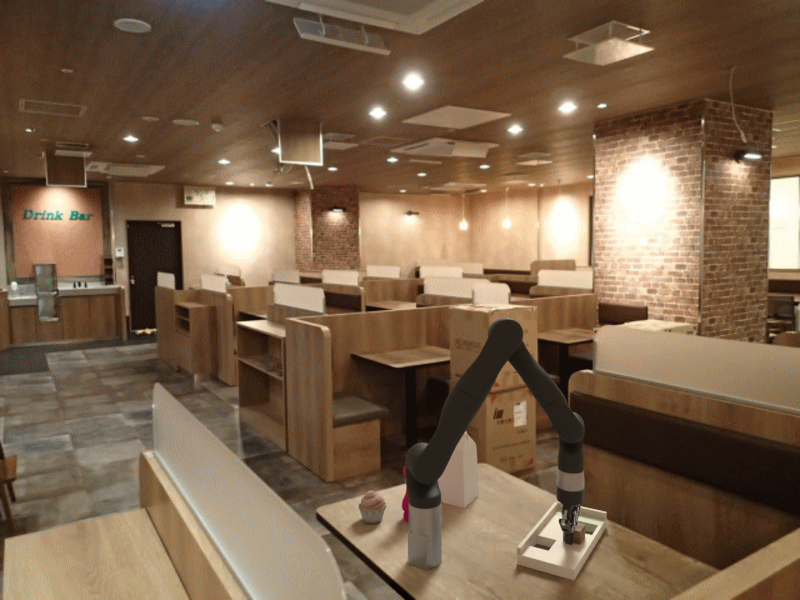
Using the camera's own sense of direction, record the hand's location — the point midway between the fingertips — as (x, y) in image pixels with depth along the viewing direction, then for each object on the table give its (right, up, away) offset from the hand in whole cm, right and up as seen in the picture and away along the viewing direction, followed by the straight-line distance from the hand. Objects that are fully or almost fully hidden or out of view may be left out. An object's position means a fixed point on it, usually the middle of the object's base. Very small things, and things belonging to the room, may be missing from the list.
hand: (569, 543), depth 177 cm
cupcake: (-57, -2, +25) cm, 62 cm away
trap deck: (0, -3, +7) cm, 8 cm away
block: (+2, 0, +4) cm, 5 cm away
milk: (-28, 0, +40) cm, 49 cm away
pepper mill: (-44, -2, +25) cm, 50 cm away
